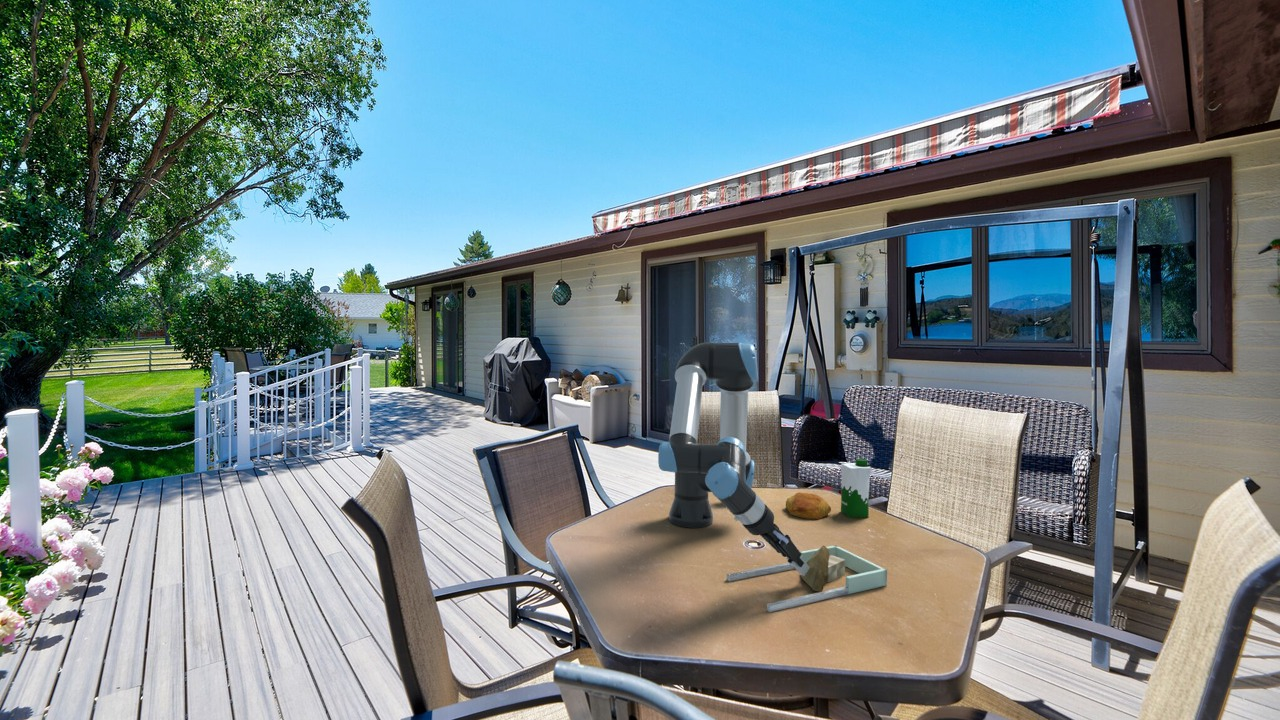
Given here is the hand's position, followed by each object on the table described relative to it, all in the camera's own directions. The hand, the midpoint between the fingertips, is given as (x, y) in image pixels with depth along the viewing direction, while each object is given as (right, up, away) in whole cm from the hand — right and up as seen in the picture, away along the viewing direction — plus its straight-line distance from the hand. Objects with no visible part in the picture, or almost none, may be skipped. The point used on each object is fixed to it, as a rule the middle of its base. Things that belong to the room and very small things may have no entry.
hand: (805, 570), depth 140 cm
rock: (+2, -4, 0) cm, 4 cm away
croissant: (+18, -2, +58) cm, 61 cm away
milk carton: (+35, -2, +58) cm, 68 cm away
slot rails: (-5, -4, -2) cm, 7 cm away
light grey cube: (+7, -4, +4) cm, 9 cm away
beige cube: (+10, -4, +7) cm, 12 cm away
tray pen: (+11, -4, +6) cm, 13 cm away
